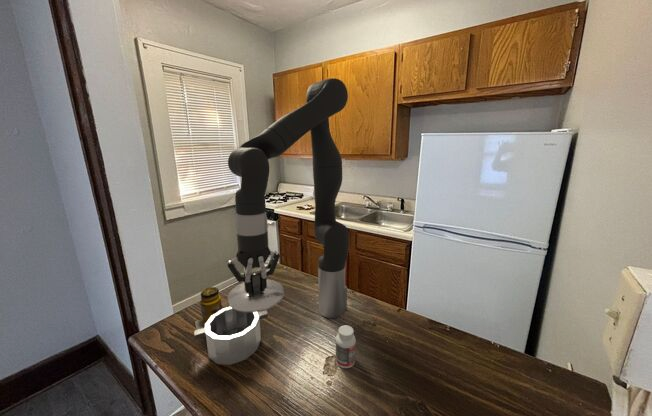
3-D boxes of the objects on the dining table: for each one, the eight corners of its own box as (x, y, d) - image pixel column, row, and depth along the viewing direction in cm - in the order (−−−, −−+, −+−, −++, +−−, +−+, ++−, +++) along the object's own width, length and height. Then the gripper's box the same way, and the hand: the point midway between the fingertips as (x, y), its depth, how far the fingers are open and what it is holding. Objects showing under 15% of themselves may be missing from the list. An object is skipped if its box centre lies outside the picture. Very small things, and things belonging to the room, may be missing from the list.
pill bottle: (352, 371, 65) (353, 339, 63) (333, 366, 67) (333, 334, 64) (356, 355, 70) (357, 325, 68) (338, 351, 72) (338, 321, 69)
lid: (274, 280, 77) (273, 258, 75) (291, 306, 64) (291, 279, 63) (224, 293, 70) (222, 268, 68) (232, 323, 58) (230, 294, 56)
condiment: (226, 325, 82) (222, 292, 79) (197, 335, 78) (193, 301, 75) (221, 313, 88) (218, 282, 85) (194, 322, 84) (190, 290, 81)
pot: (262, 319, 85) (261, 298, 83) (274, 349, 72) (273, 325, 70) (197, 339, 76) (194, 316, 74) (198, 376, 64) (194, 350, 62)
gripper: (275, 222, 69) (277, 279, 73) (220, 229, 63) (226, 291, 67) (284, 229, 63) (285, 291, 67) (224, 238, 56) (230, 306, 60)
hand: (256, 291), depth 67 cm, fingers closed on lid, 3 cm apart
